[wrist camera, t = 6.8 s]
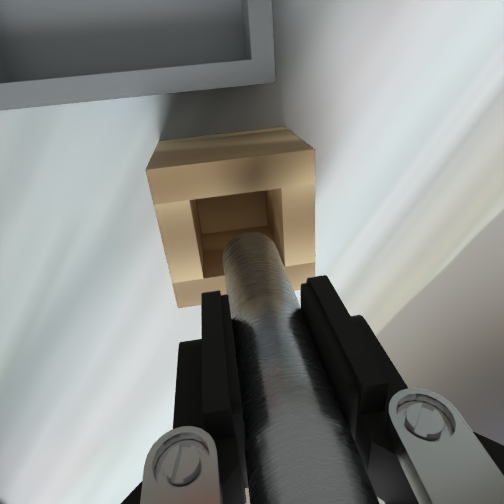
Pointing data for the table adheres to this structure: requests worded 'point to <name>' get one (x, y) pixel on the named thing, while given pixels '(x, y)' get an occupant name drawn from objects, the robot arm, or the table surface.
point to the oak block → (232, 203)
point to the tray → (130, 48)
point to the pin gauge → (286, 389)
